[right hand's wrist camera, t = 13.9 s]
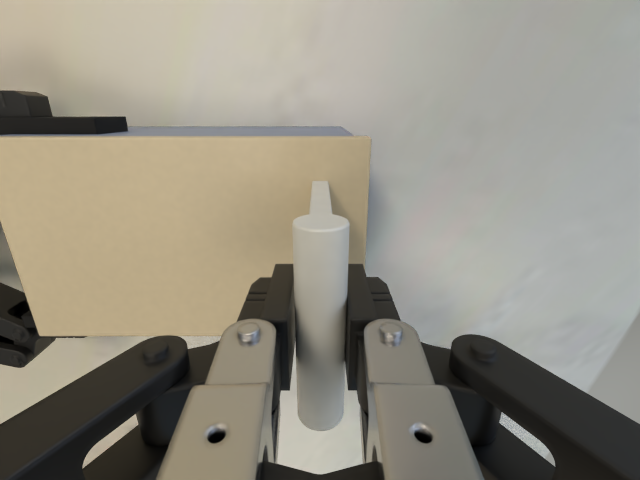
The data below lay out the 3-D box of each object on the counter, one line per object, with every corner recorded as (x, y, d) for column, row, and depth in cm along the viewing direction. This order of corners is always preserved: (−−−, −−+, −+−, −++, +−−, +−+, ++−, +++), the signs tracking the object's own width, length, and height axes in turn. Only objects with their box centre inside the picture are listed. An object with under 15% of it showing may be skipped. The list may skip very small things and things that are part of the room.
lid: (368, 135, 15) (416, 159, 8) (359, 326, 18) (386, 469, 11) (-11, 135, 15) (-332, 159, 8) (51, 326, 18) (-129, 471, 11)
